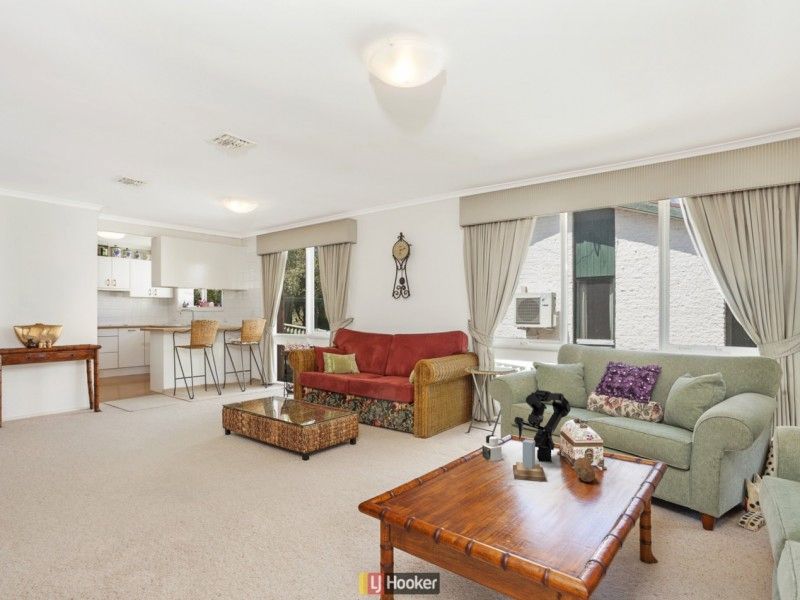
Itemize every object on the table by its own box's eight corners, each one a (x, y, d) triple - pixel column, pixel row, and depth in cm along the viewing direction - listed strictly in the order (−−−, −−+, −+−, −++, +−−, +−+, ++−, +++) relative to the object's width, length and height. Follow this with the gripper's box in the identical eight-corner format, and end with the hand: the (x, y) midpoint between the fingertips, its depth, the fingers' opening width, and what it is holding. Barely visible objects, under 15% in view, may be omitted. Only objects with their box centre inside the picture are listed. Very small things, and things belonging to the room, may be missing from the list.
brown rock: (598, 477, 213) (598, 456, 213) (593, 486, 203) (593, 463, 203) (577, 473, 218) (577, 452, 219) (571, 482, 208) (571, 459, 208)
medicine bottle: (482, 457, 241) (482, 435, 241) (493, 456, 244) (493, 433, 244) (490, 462, 234) (490, 438, 235) (501, 460, 237) (501, 436, 238)
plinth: (542, 470, 222) (542, 462, 222) (546, 481, 208) (546, 472, 208) (512, 468, 225) (512, 460, 225) (514, 479, 211) (514, 470, 211)
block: (525, 464, 219) (525, 439, 220) (535, 466, 217) (535, 440, 217) (522, 467, 216) (522, 441, 216) (532, 468, 213) (532, 443, 213)
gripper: (517, 402, 231) (508, 431, 225) (555, 413, 222) (546, 443, 216) (520, 409, 240) (511, 437, 233) (556, 420, 231) (548, 450, 225)
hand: (528, 442), depth 227 cm, fingers open, 9 cm apart
